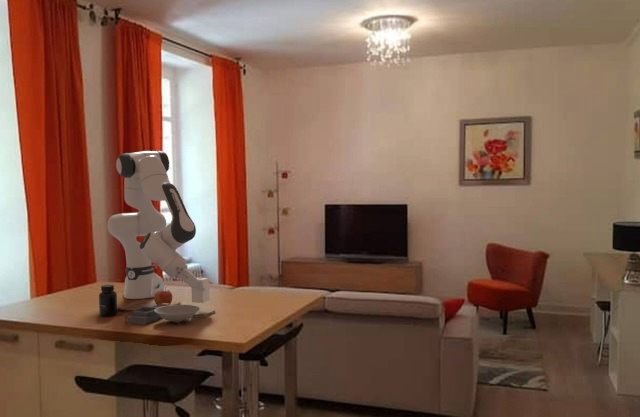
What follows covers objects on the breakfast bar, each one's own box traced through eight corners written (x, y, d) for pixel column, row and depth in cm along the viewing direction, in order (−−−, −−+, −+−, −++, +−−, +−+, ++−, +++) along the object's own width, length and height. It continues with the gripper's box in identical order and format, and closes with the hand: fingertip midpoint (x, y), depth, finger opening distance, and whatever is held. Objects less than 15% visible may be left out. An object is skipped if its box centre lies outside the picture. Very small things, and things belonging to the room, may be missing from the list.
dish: (145, 325, 202) (145, 312, 201) (168, 316, 215) (168, 303, 215) (186, 329, 196) (186, 315, 195) (207, 318, 209) (207, 306, 209)
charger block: (198, 299, 219) (197, 277, 218) (209, 300, 217) (208, 277, 217) (192, 302, 214) (191, 279, 214) (203, 302, 213) (202, 279, 212)
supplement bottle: (97, 317, 215) (96, 287, 214) (101, 313, 222) (99, 284, 221) (116, 316, 216) (114, 286, 216) (119, 312, 223) (117, 283, 222)
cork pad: (197, 311, 221) (197, 309, 221) (215, 312, 219) (215, 310, 219) (187, 316, 214) (186, 313, 214) (205, 317, 211) (204, 315, 211)
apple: (150, 308, 228) (150, 289, 228) (163, 304, 235) (162, 286, 234) (164, 310, 225) (163, 291, 224) (176, 306, 231) (175, 287, 231)
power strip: (167, 307, 230) (166, 297, 230) (183, 307, 228) (183, 298, 228) (127, 323, 206) (127, 312, 205) (145, 324, 203) (145, 313, 203)
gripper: (184, 263, 203) (212, 287, 207) (178, 257, 222) (203, 278, 226) (172, 276, 201) (200, 300, 205) (167, 268, 220) (192, 290, 224)
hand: (202, 288), depth 216 cm, fingers closed on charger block, 7 cm apart
